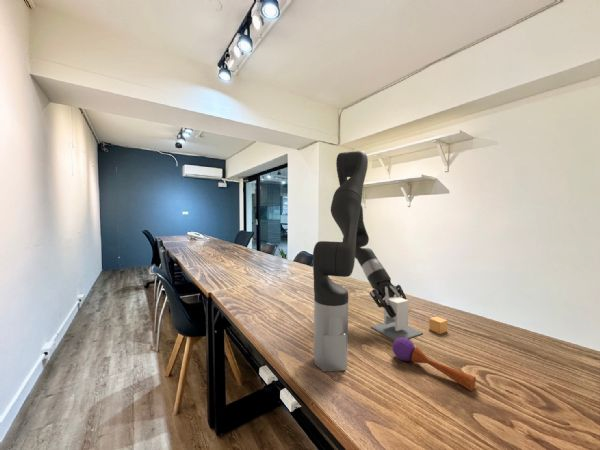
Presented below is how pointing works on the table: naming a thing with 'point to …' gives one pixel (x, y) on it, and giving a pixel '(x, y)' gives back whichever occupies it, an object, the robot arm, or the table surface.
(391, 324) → the mat
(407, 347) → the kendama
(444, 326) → the block
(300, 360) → the table surface
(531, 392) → the table surface
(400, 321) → the cover
